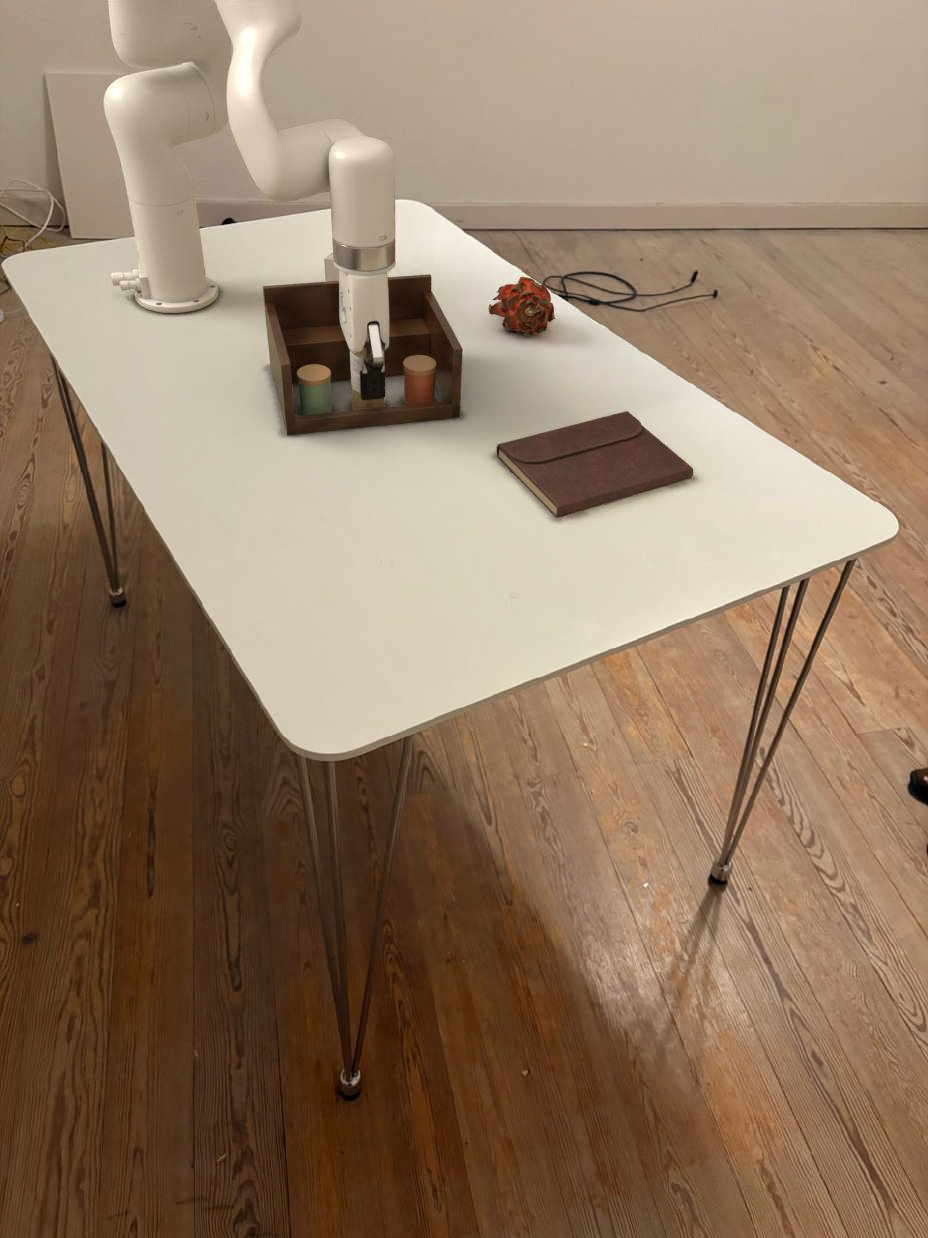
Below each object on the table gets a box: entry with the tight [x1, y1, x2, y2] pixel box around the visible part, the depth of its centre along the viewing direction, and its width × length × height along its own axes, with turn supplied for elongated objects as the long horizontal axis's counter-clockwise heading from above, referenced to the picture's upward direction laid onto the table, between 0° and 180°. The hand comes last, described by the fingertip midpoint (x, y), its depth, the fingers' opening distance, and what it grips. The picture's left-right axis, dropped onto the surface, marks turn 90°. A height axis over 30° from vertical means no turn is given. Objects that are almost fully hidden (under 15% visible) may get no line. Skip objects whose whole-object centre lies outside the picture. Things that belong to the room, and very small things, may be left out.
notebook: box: [495, 410, 694, 519], centre depth 127 cm, size 15×20×2 cm
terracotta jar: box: [403, 355, 436, 405], centre depth 136 cm, size 4×4×6 cm
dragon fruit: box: [487, 276, 556, 337], centre depth 153 cm, size 8×8×12 cm
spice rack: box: [262, 273, 464, 436], centre depth 135 cm, size 23×18×12 cm
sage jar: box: [297, 364, 333, 416], centre depth 133 cm, size 4×4×6 cm
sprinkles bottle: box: [350, 343, 386, 410], centre depth 132 cm, size 5×5×13 cm
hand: (367, 383), depth 134 cm, fingers open, 6 cm apart
